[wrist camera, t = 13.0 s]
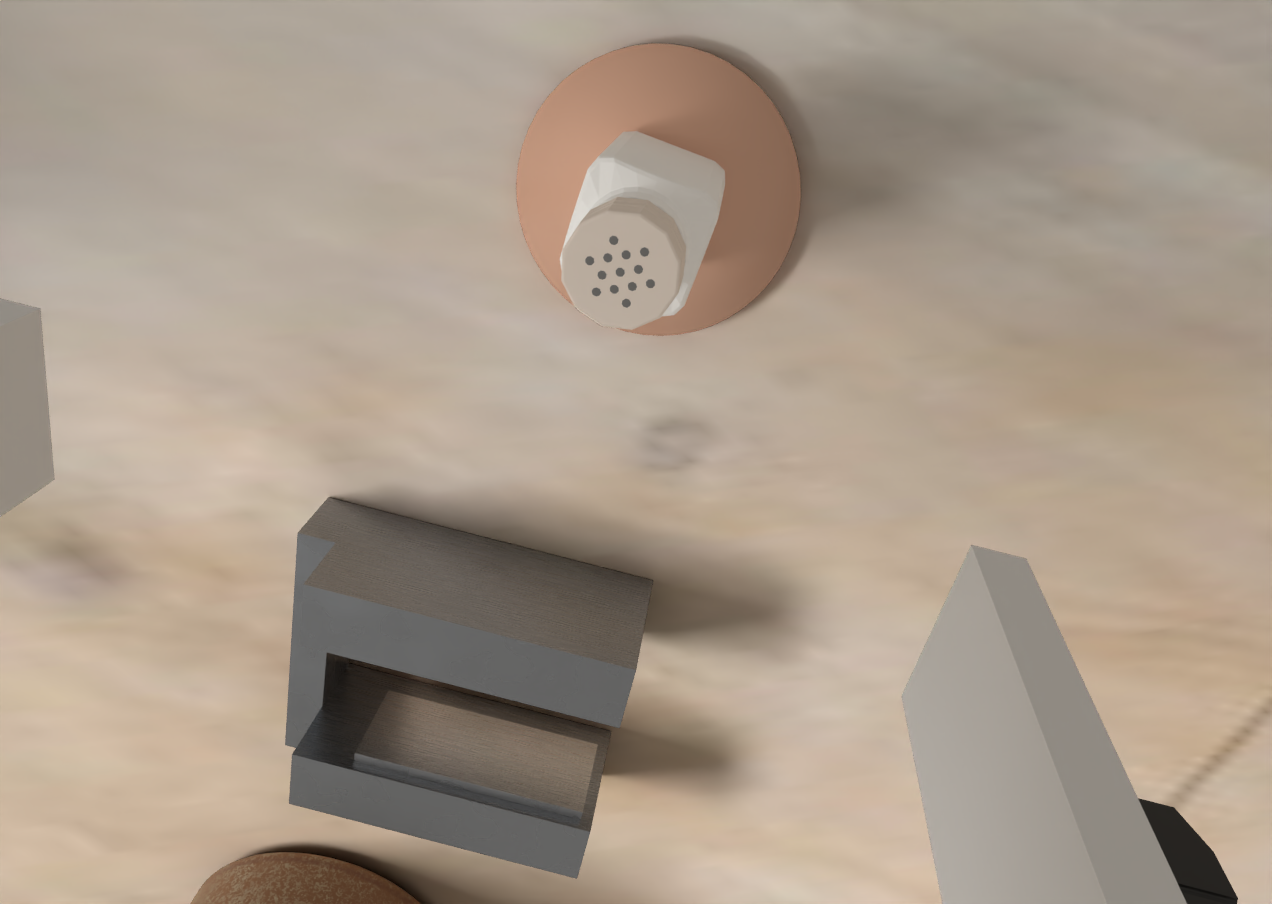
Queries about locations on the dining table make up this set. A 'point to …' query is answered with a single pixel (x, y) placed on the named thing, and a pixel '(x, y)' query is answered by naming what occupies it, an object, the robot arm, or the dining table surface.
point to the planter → (298, 882)
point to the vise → (455, 683)
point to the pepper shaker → (640, 230)
